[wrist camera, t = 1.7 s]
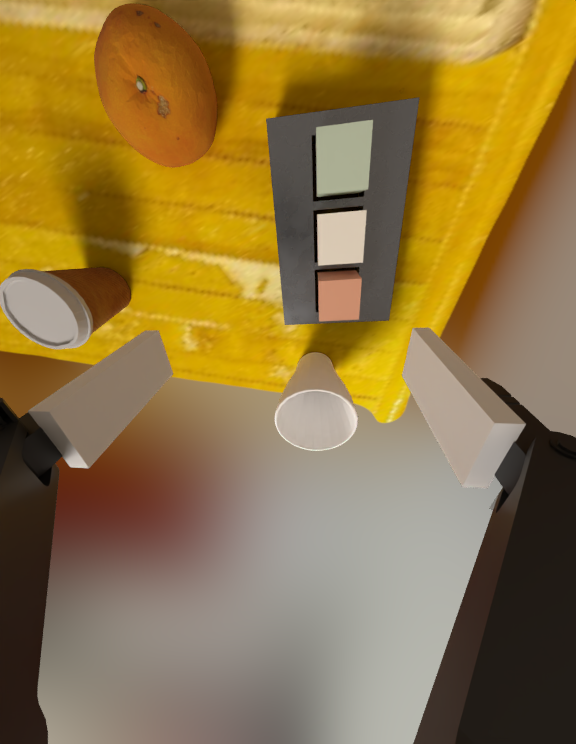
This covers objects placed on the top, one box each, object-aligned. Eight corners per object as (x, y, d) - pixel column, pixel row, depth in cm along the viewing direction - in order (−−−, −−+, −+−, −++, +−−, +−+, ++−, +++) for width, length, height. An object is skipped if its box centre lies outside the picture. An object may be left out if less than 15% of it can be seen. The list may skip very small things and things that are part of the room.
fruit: (192, 194, 32) (159, 189, 25) (114, 112, 28) (51, 80, 21) (246, 110, 27) (223, 76, 20) (161, 0, 24) (100, -84, 17)
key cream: (316, 214, 29) (317, 214, 24) (358, 210, 28) (366, 210, 24) (317, 258, 31) (318, 265, 27) (356, 255, 30) (363, 262, 26)
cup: (341, 333, 40) (352, 382, 28) (350, 387, 45) (362, 446, 33) (277, 346, 42) (264, 396, 30) (292, 396, 47) (286, 454, 36)
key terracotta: (317, 272, 32) (318, 281, 28) (355, 269, 31) (361, 278, 27) (318, 308, 34) (319, 321, 30) (353, 306, 34) (358, 319, 29)
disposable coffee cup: (100, 240, 35) (15, 252, 25) (154, 297, 39) (98, 327, 29) (66, 280, 39) (-20, 304, 29) (118, 329, 43) (58, 365, 32)
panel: (272, 130, 28) (266, 118, 24) (405, 112, 26) (419, 97, 23) (287, 315, 39) (284, 324, 35) (382, 310, 37) (388, 320, 34)
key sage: (315, 141, 25) (316, 127, 21) (363, 135, 25) (373, 119, 21) (316, 197, 28) (317, 194, 24) (359, 192, 27) (368, 189, 23)
